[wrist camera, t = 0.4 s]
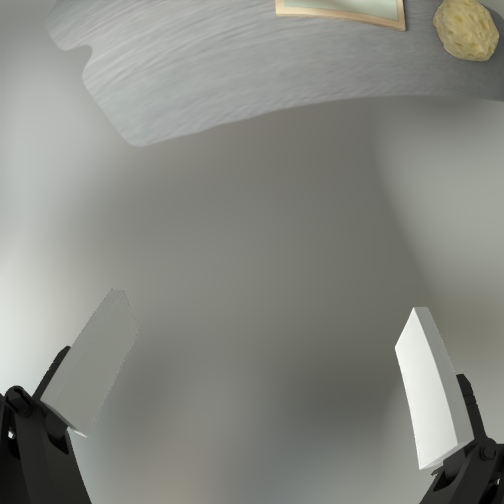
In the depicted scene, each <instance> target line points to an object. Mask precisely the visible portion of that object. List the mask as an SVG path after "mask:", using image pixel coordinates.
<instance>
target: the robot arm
mask: <svg viewBox="0 0 504 504" xmlns="http://www.w3.org/2000/svg"><path fill="white" fill-rule="evenodd" d="M139 331H140V330H139V328H138V326H137V323H136V320H135V318H134V315H133V313H132V310H131V308H130V305H129V302H128V299H127V296H126V293H125V291H124V290H118V289H111V290H110V292H109V293H108V295H107V296H106V297H105V298H104V300H103V302H102V303H101V304H100V306H99V307H98V308H97V310H96V311H95V313H94V314H93V315H92V317H91V318H90V320H89V321H88V323H87V324H86V326H85V327H84V328H83V330H82V331H81V333H80V334H79V336H78V337H77V339H76V341H75V342H74V344H73V345H72V347H70V346H66V347H65V348H64V349H63V350H61V351H60V352H59V353H58V355H57V356H56V358H55V360H54V361H53V363H52V364H51V366H50V367H49V370H48V371H47V372H46V374H45V376H44V377H43V379H42V381H41V382H40V384H39V386H38V388H37V389H36V391H35V393H34V394H33V396H32V397H31V396H30V395H29V394H28V393H27V392H26V391H25V390H24V389H23V388H22V387H21V386H13V387H11V388H9V389H8V391H7V392H6V394H5V396H2V394H1V393H0V504H92V503H91V501H90V498H89V496H88V493H87V491H86V488H85V485H84V482H83V480H82V477H81V474H80V471H79V468H78V465H77V462H76V458H75V455H74V451H73V448H72V444H71V440H70V437H69V433H68V431H67V427H68V426H69V427H70V428H71V429H72V430H73V431H75V432H76V433H79V434H80V435H82V436H85V437H87V438H88V437H89V435H90V433H91V430H92V428H93V426H94V424H95V421H96V419H97V417H98V414H99V412H100V410H101V408H102V406H103V403H104V401H105V399H106V397H107V395H108V393H109V391H110V389H111V387H112V384H113V382H114V380H115V378H116V376H117V374H118V372H119V370H120V368H121V366H122V364H123V361H124V360H125V358H126V356H127V354H128V352H129V350H130V348H131V346H132V344H133V342H134V340H135V339H136V336H137V335H138V333H139ZM395 350H396V354H397V357H398V361H399V365H400V368H401V372H402V377H403V381H404V385H405V389H406V394H407V398H408V403H409V408H410V413H411V418H412V423H413V429H414V435H415V441H416V447H417V454H418V462H419V469H424V468H428V467H431V466H435V465H437V464H438V463H440V462H442V461H443V466H441V467H439V468H438V469H436V470H434V471H433V473H432V474H431V475H432V476H433V475H434V474H437V473H438V474H437V476H436V478H435V479H434V481H433V483H432V485H431V486H430V488H429V490H428V491H427V493H426V494H425V496H424V497H423V499H422V501H421V502H420V503H419V504H504V444H496V442H495V441H494V440H493V439H491V438H488V437H487V436H486V433H485V431H484V426H483V422H482V419H481V415H480V412H479V409H478V405H477V404H476V399H475V396H474V395H473V390H472V387H471V384H470V382H469V381H468V380H467V378H466V377H465V376H464V374H459V375H455V372H454V369H453V367H452V364H451V361H450V358H449V356H448V353H447V351H446V348H445V346H444V343H443V341H442V338H441V336H440V334H439V332H438V329H437V327H436V325H435V322H434V320H433V318H432V316H431V314H430V312H429V310H428V307H414V308H413V310H412V312H411V314H410V317H409V319H408V321H407V324H406V326H405V328H404V330H403V332H402V334H401V336H400V338H399V340H398V342H397V344H396V346H395ZM9 432H11V433H12V434H13V436H12V438H10V437H8V434H9ZM498 479H500V480H499V485H498V484H497V481H498Z"/></svg>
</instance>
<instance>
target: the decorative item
mask: <svg viewBox="0 0 504 504" xmlns="http://www.w3.org/2000/svg"><path fill="white" fill-rule="evenodd" d="M433 25H434V26H435V27H436V30H437V32H438V35H439V38H440V39H441V41H442V43H443V44H444V48H445V49H446V50H447V52H449V53H450V54H452V55H453V56H455V57H457V58H459V59H465V60H472V61H479V62H480V61H485V60H488V59H489V58H490V57H491V56H492V54H493V53H494V51H495V48H496V47H497V44H498V39H499V33H498V31H497V28H496V26H495V25H494V22H493V19H492V17H491V16H490V13H489V11H488V10H487V9H486V8H484V6H482V5H481V4H480V3H479V2H477V1H476V0H445V1H443V3H442V4H441V5H440V6H439V7H438V9H437V11H436V12H435V15H434V18H433Z"/></svg>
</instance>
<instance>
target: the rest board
mask: <svg viewBox="0 0 504 504" xmlns="http://www.w3.org/2000/svg"><path fill="white" fill-rule="evenodd" d="M275 2H276V16H293V17H315V18H327V19H337V20H345V21H352V22H359V23H365V24H370V25H376V26H381V27H385V28H390V29H394V30H398V31H404V30H405V19H404V10H403V2H402V0H275Z"/></svg>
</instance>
